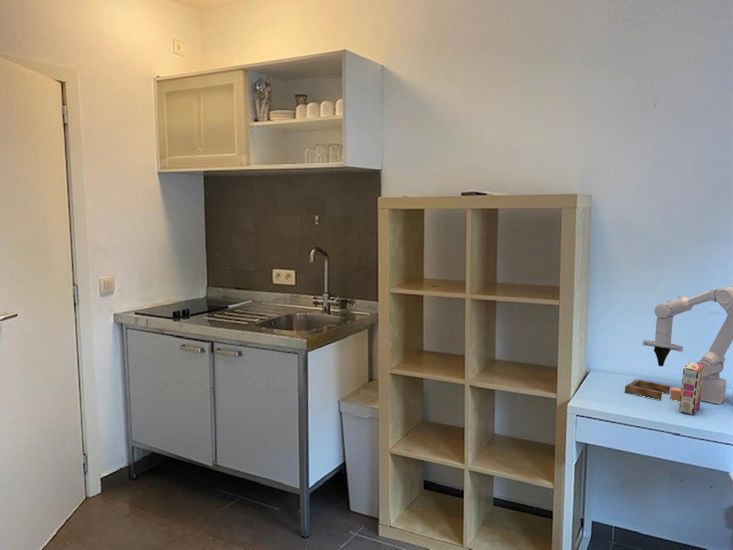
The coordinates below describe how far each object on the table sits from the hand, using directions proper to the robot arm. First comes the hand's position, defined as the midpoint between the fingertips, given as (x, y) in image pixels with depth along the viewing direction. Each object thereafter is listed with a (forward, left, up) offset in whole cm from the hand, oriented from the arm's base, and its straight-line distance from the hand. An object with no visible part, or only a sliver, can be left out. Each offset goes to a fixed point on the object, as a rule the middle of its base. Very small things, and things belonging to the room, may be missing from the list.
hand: (660, 365), depth 240 cm
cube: (-10, +13, -8) cm, 18 cm away
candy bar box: (-17, +22, -9) cm, 29 cm away
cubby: (0, +13, -8) cm, 15 cm away
